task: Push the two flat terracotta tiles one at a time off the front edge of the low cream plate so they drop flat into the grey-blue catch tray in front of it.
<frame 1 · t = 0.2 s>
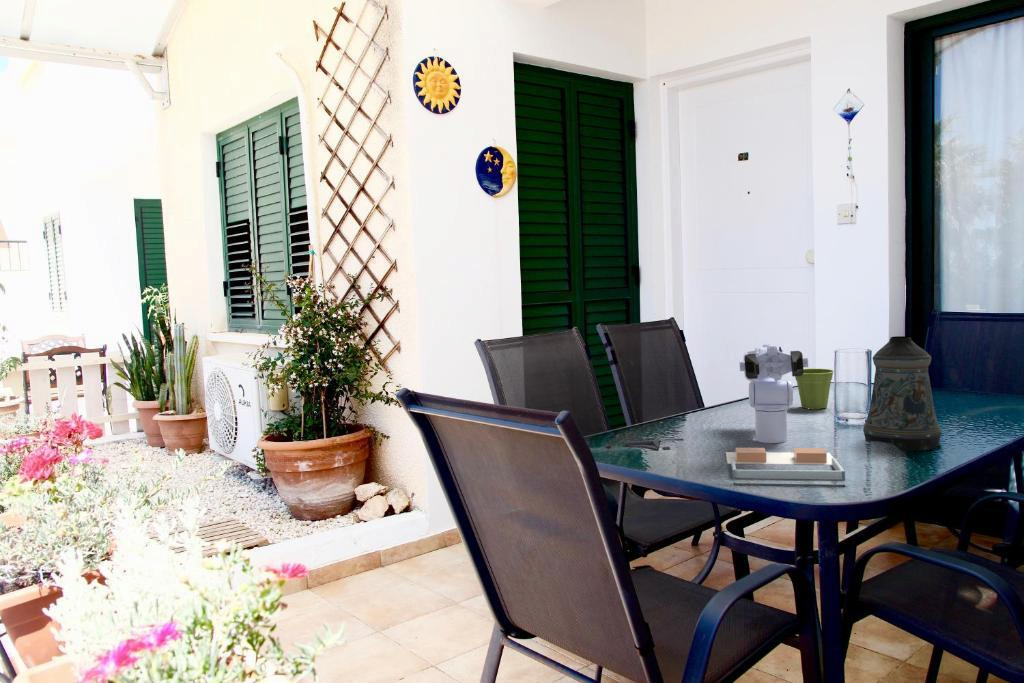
hand: (776, 367, 171), 21 cm above the table, tool horizontal, fingers open, 7 cm apart
plant pot: (814, 408, 241), on the table
terracotta tile b: (809, 459, 169), point 1 cm above the table, touching cream plate
cream plate: (779, 464, 172), on the table
catch tray: (785, 478, 161), on the table
bracket: (660, 453, 192), on the table
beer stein: (897, 442, 189), on the table
terracotta tile a: (750, 459, 172), point 1 cm above the table, touching cream plate
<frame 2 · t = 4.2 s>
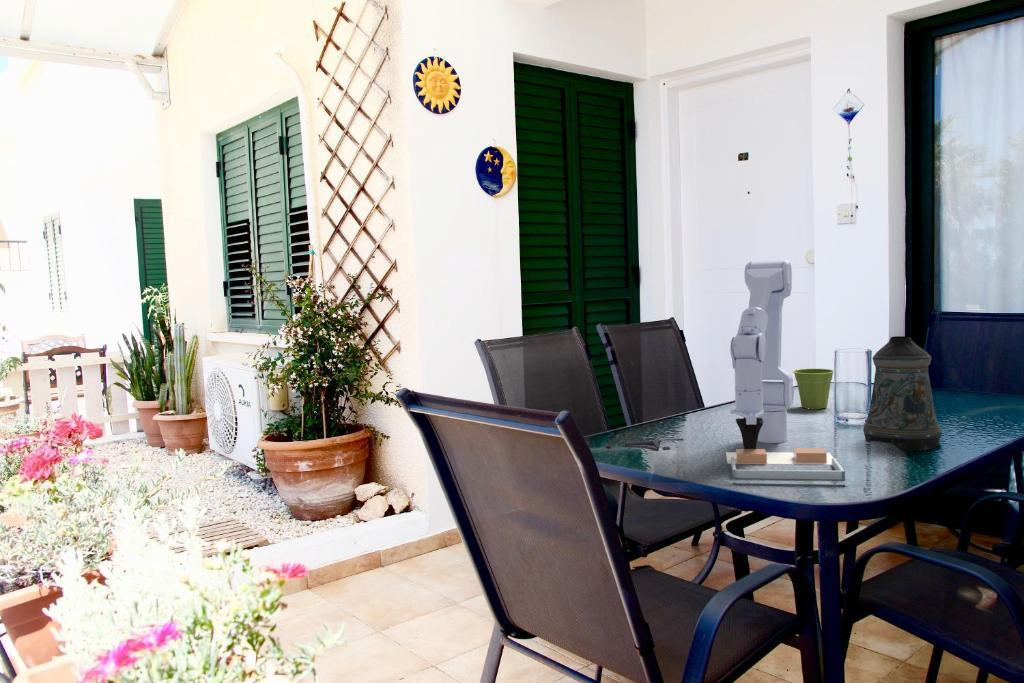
hand: (750, 451, 174), 3 cm above the table, tool pointing down, fingers closed
terracotta tile a: (751, 460, 171), point 1 cm above the table, touching cream plate, gripper
everything else where it was.
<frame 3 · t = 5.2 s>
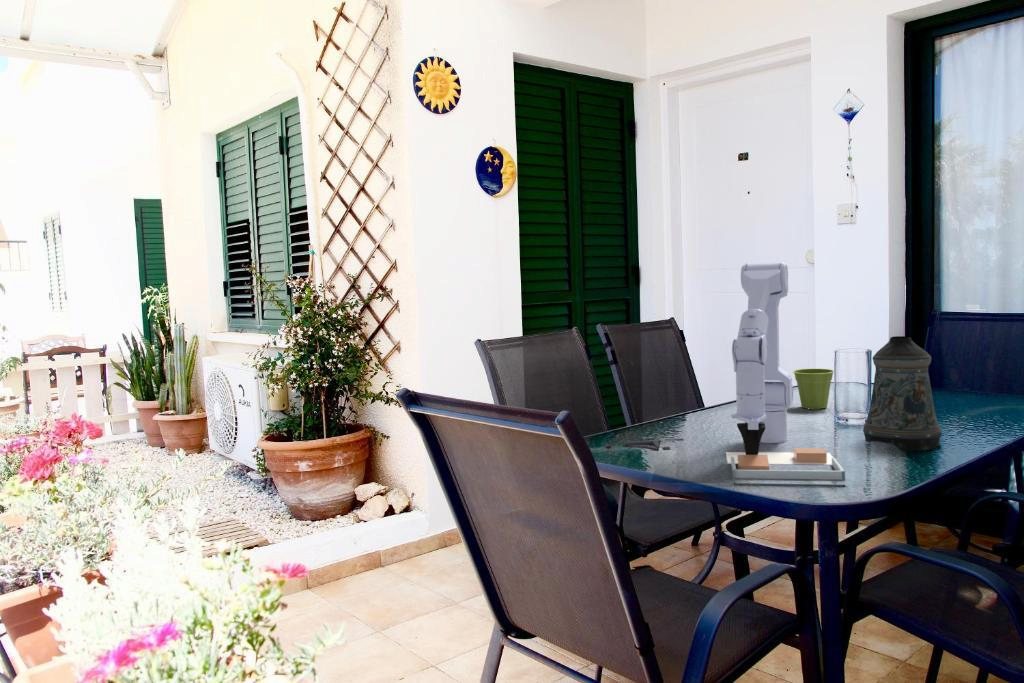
hand: (751, 457, 168), 3 cm above the table, tool pointing down, fingers closed
terracotta tile a: (753, 468, 166), point 1 cm above the table, tilted 14°, touching gripper
everything else where it was.
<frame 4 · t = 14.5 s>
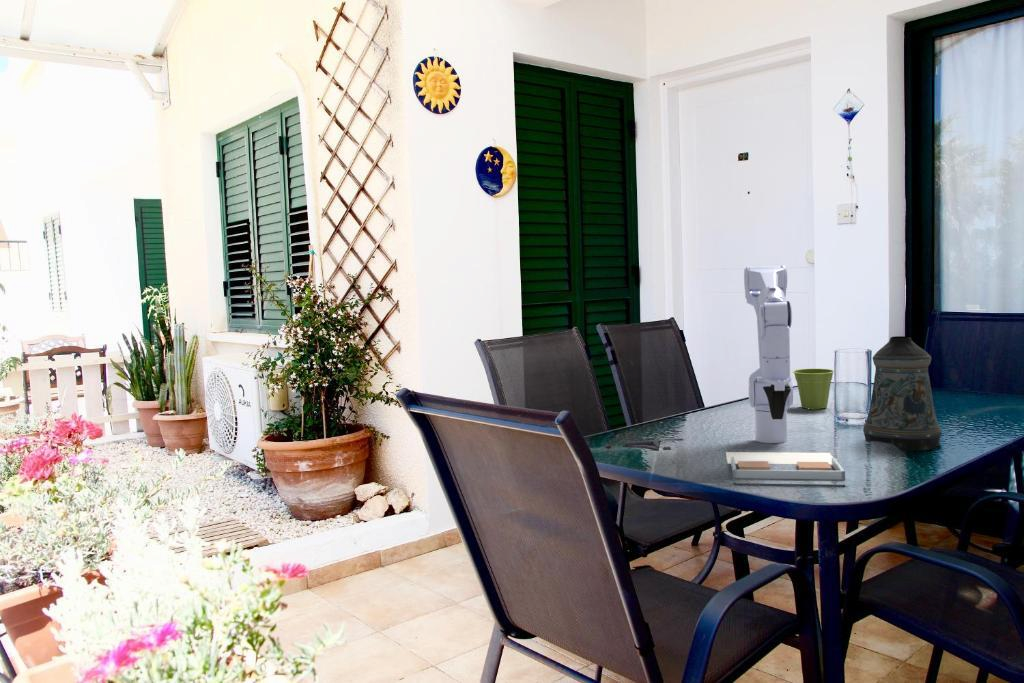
hand: (777, 418, 175), 9 cm above the table, tool pointing down, fingers closed
terracotta tile b: (814, 474, 162), resting on catch tray
terracotta tile a: (753, 473, 164), resting on catch tray
everything else where it was.
at the end: terracotta tile a inside the target area (6.4 cm from its centre), resting on catch tray; terracotta tile b inside the target area (6.3 cm from its centre), resting on catch tray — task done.
